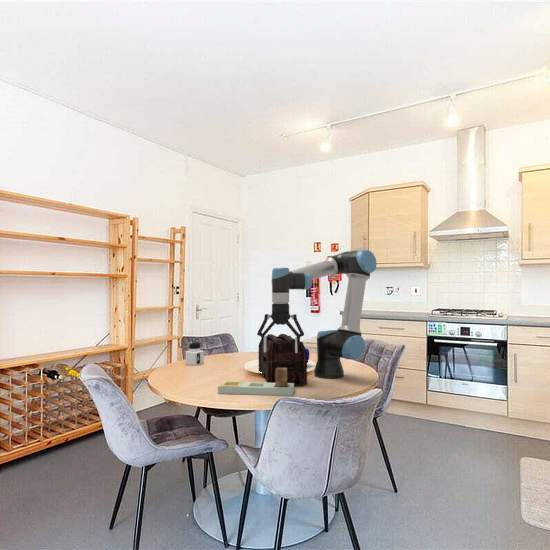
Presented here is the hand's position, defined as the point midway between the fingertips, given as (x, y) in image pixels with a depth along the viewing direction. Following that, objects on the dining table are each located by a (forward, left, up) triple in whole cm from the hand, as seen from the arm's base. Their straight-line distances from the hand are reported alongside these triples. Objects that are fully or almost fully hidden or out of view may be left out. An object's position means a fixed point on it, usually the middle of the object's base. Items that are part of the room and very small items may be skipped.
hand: (280, 352), depth 171 cm
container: (+60, -59, -18) cm, 86 cm away
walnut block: (0, 0, -16) cm, 16 cm away
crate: (+3, -26, -18) cm, 32 cm away
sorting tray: (+11, 0, -17) cm, 20 cm away
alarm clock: (-2, -58, -18) cm, 60 cm away
